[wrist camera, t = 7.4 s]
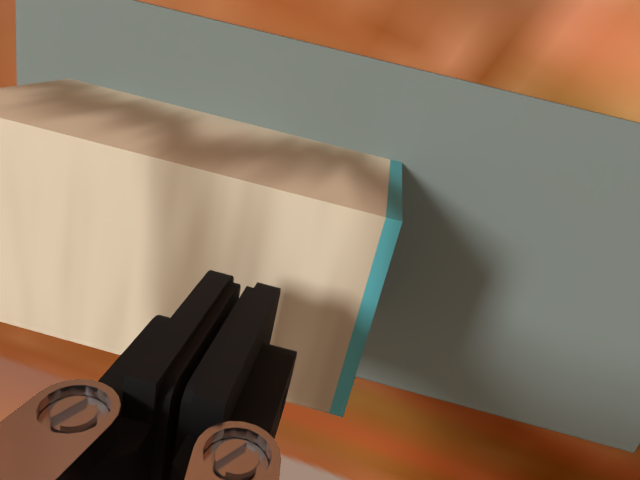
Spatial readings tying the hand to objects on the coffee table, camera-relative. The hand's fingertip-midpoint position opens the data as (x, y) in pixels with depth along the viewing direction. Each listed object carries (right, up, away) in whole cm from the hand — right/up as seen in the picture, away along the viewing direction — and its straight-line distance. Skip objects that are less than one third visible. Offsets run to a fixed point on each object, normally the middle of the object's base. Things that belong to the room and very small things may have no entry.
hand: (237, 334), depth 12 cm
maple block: (+4, +1, +4) cm, 6 cm away
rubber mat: (+3, +3, +7) cm, 8 cm away
